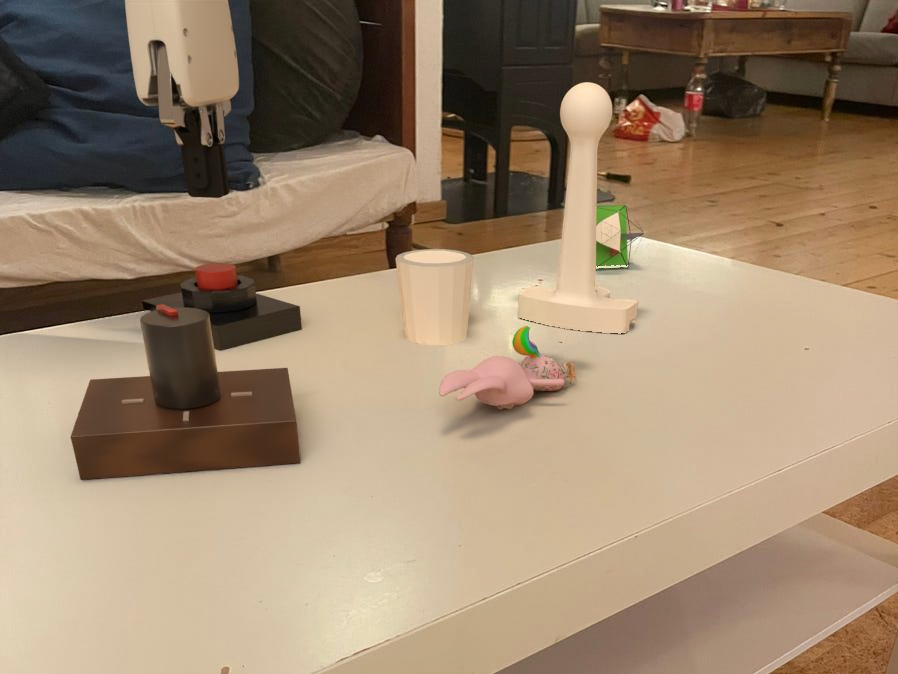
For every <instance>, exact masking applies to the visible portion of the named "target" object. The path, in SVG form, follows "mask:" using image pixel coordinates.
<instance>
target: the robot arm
mask: <svg viewBox="0 0 898 674" xmlns="http://www.w3.org/2000/svg"><path fill="white" fill-rule="evenodd" d="M124 8H125V16H126V27H127V35H128V43H129V44H128V45H129V51H130V59H131V66H132V73H133V79H134V80H133V81H134V85H135V91H136V96H137V98H138V99H139V101H140V102H141V103H142V104H143V105H145V106H148V107H156V106H157V107H158V117H159V121H160V123H161V124H162V125H163V126H167V127H169V128H173V131H174V135H175V140H176V143H177V145H178V146H179V147H180V152H181V160H182V165H183V171H184V177H185V184H186V191H187V194H188V196H189V197H190V198H204V199H205V198H207V199H220V198H223V197H225V196H227V195H229V194H230V192H231V191H230V190H231V189H230V182H229V175H228V168H227V159H226V152H225V145H224V143H225V142H226V141H225V140H226V131H225V117H227V116H228V115H229V113H231V111H232V102H231V99H232V98H234V97H235V96H236V95H237V93H238V91H239V89H240V76H239V65H238V64H239V63H238V56H237V48H236V41H235V34H234V27H233V22H232V16H231V10H230V5H229V0H124Z"/></svg>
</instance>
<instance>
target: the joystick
mask: <svg viewBox="0 0 898 674" xmlns="http://www.w3.org/2000/svg"><path fill="white" fill-rule="evenodd" d="M559 116H560V117H559V118H560V124H561V125H562V128H563V130H564V131H565V132H566V134H567V137H568V140H569V144H570V151H569V160H568V161H569V162H568V169H567V182H566V191H565V202H564V209H563V211H564V212H563V221H562V230H561V240H560V251H559V259H558V260H559V261H558V268H557V270H558V271H557V280H556V290H554V289H549V288H546V287H543V286H535V285H534V286H530V287H528V288H526V289H524V290H522V291H520V292H519V293H518V299H517V300H518V302H517V303H518V304H517V318H518V317H519V318H518V319H520V318H522V319H521V320H523V319H525V320H524V321H526V320H529V321H528V322H530V321H534V322H536V323H535V324H538V323H541V324H540V325H542V324H545V325H544V326H547V325H549V326H548V327H552V326H555V327H554V328H558V327H560V328H559V329H564V328H565V329H566V330H570V329H573V330H572V331H578V330H580V331H579V332H586V331H592V332H591V333H596V332H602V333H601V334H610V333H618V334H617V335H622V334H621V333H625V334H626V332H627V331H628V332H630V324H631V323H632V324H633V323H636V322H637V317H638V305H639V301H638V300H637V299H623V298H622V299H621V298H611V290H610V289H608V288H606V287H603V286H597V285H596V281H597V280H596V278H597V277H596V276H597V275H596V274H597V273H596V270H597V269H596V212H597V206H598V205H597V203H598V150H599V149H598V147H599V143H600V141H601V138H602V136H603V135H604V134H605V133H606V131H607V129H608V128H609V126H610V124H611V122H612V118H613V103H612V99H611V97H610V95H609V93H608V91H606V89H604V88H603V87H602V86H601V85H599V84H598V83H594V82H587V81H585V82H580V83H578V84H576V85H574V86H573V87H571V88H570V89H569V90H568V91H567V92H566V94H565V95H564V97H563V99H562V101H561V104H560V109H559ZM534 322H533V323H534ZM628 332H627V333H628Z"/></svg>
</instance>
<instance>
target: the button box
mask: <svg viewBox="0 0 898 674" xmlns="http://www.w3.org/2000/svg"><path fill="white" fill-rule="evenodd" d="M237 280H238V286H235V287H230V288H224V289H204V288H199V287H198V286H197V279H196V276H195V277H192V278H189V279H186V280H185V281H182V282H181V283H180V290H181V292H176V293H171V294H166V295H162V296H157V297H153V298H147V299H143V300H141V303H142V309H143V310H145V311H147V312H152V311H155V310H157V309H156V305H162V304H164V305H166V306H168V307H170V308H196V309H201V310H204V311H206V312H208V313H209V315H210V322H211V329H212V336H213V343H214V350H215V351H216V350H217V351H218V352H222V351H226V350H230V349H234V348H238V347H242V346H245V345H249V344H252V343H257V342H261V341H264V340H269V339H272V338H276V337H279V336H284V335H287V334H291V333H295V332H300V331H302V330H303V326H302V315H301V305H297V304H293V303H291V302H287V301H284V300H281V299H277V298H274V297H270V296H267V295H263V294H260V293H257V291H256V283H255V281H254V279H253V278H251V277H248V276H244V275H238V274H237Z"/></svg>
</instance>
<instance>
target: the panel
mask: <svg viewBox="0 0 898 674" xmlns="http://www.w3.org/2000/svg"><path fill="white" fill-rule="evenodd" d="M218 378H219V385H220V392H221V396H220V398H219V399H218V400H217V401H216V402H214V403H212V404H209V405H206V406H203V407H198V408H191V409H171V408H165V407H162V406H159V405H158V404H156V402H155V400H154V395H153V390H152V384H151V379H150V375H143V376H127V377H125V376H124V377H109V378H95V379H94V378H93V379H90V380H89V381H88V385H87V388H86V391H85V394H84V396H83V400H82V402H81V405H80V408H79V411H78V414H77V417H76V418H75V419H76V420H75V423H74V425H73V428H72V431H71V434H70V442H71V445H72V450H73V453H74V457H75V462H76V467H77V471H78V473H79V474H78V475H79V479H80V480H81V481H83V480H95V479H110V478H111V479H112V478H122V477H124V478H125V477H135V476H150V475H161V474H162V475H163V474H175V473H186V472H187V473H188V472H201V471H212V470H214V471H215V470H227V469H239V468H251V467H263V466H265V467H266V466H276V465H278V466H279V465H291V464H301V453H300V452H301V451H300V445H299V444H300V443H299V433H298V422H297V416H296V411H295V403H294V397H293V391H292V386H291V379H290V374H289V368H288V367H275V368H258V369H243V370H227V371H218Z"/></svg>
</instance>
